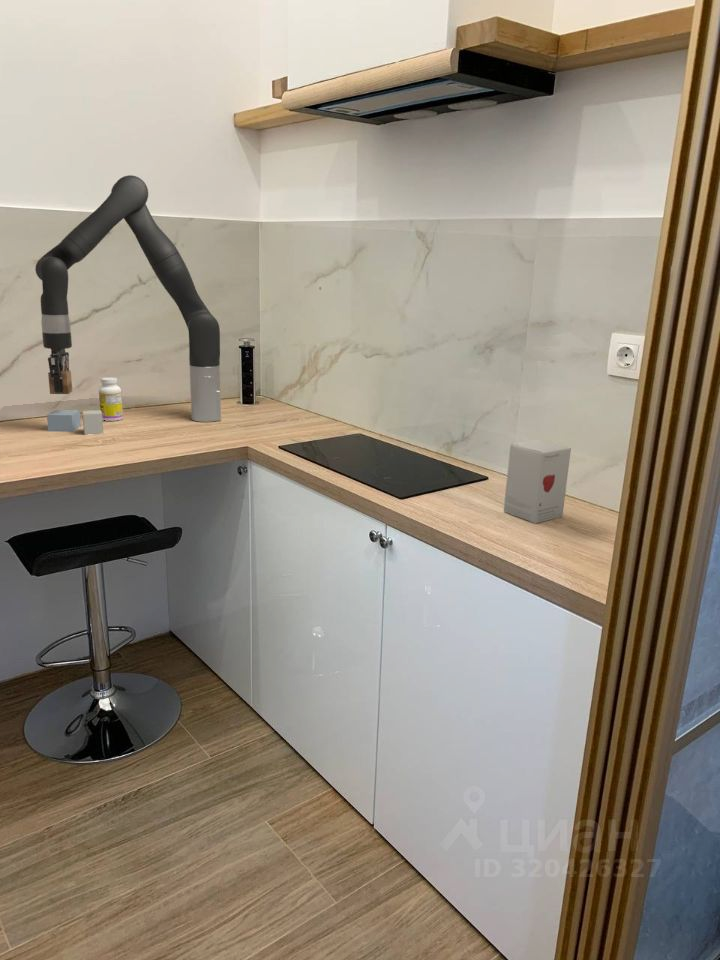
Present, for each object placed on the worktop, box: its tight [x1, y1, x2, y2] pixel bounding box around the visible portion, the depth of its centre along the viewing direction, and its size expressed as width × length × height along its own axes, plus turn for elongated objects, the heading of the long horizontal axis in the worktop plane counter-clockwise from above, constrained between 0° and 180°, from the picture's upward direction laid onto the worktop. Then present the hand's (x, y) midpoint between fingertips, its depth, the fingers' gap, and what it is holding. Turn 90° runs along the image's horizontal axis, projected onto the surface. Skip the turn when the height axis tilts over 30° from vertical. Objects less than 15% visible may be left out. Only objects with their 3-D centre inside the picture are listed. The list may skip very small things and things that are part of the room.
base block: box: [46, 409, 82, 433], centre depth 212 cm, size 7×7×5 cm
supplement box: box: [503, 439, 572, 524], centre depth 150 cm, size 9×9×15 cm
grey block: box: [81, 409, 104, 436], centre depth 208 cm, size 5×5×6 cm
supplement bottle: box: [98, 377, 124, 422], centre depth 224 cm, size 7×7×13 cm
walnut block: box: [47, 370, 73, 395], centre depth 208 cm, size 5×5×6 cm
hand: (61, 390), depth 209 cm, fingers closed on walnut block, 5 cm apart
